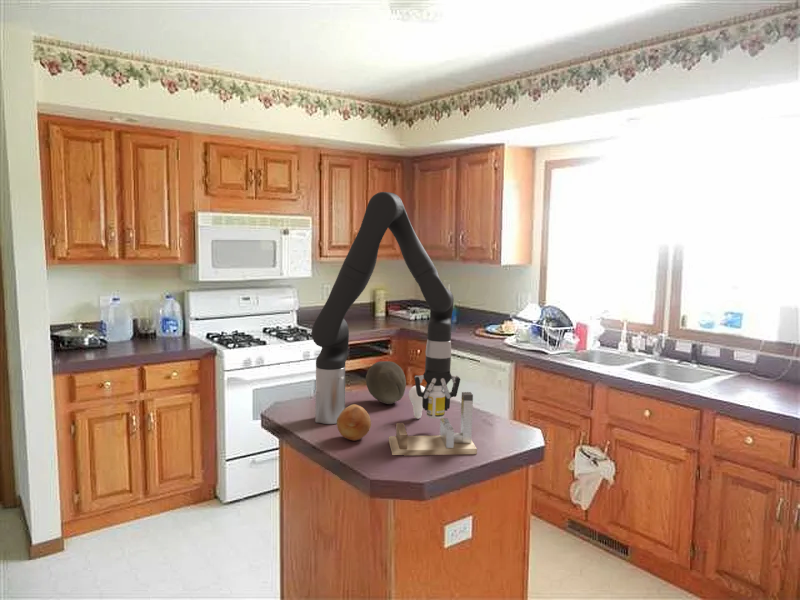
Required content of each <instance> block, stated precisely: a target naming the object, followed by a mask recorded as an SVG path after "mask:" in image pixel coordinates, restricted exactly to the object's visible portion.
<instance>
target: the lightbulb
mask: <svg viewBox="0 0 800 600" xmlns="http://www.w3.org/2000/svg"><path fill="white" fill-rule="evenodd" d="M420 386H421V392H424V390H425V386H423V385H421V384H420ZM408 398H409V401H410V403H411V405H412V410H413V417H414V418H415V419H416V420H418V419H420V418H422V414H423V410H424V409H423V406H422V399H423V398H422V397H419V396H418V395H417V392H416V385H413V386H412V387H410V389H409V391H408Z"/></svg>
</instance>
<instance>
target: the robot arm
mask: <svg viewBox="0 0 800 600" xmlns="http://www.w3.org/2000/svg"><path fill="white" fill-rule="evenodd" d="M411 223H412V222H411V221H410V218H409V215H408V213H407V210H406V208H405V205H404V203H403V201H402V198H401V197H400V196H399V195H397V194H396V193H394V192H389V191H388V192H387V191H379V192H376V193H375V194H374V195H373V196H371V198H370V199H369V201H368V202H367V206H366V209H365V212H364V215H363V219H362V221H361V225H360V227H359V229H358V232H357V234H356V236H355V238H354V239H353V242H352V244H351V246H350V248H349V250H348V253H347V254H346V257H345V258H344V260H343V263H342V265H341V267H340V270H339V272H338V274H337V277H336V278H335V282H334V284H333V286H332V288H331V290H330V293H329V296H328V297H327V300H326V302H325V304H324V305H323V306H322V309H321V311H320V312H319V314H318V315H317V317H316V319H315V320H314V323H313V325H312V327H311V337H312V341H313V342H314V343H315V345H316V346H318V347H321V350H320V352H319V354H318V355H317V357H316V358H315V396H314V397H315V399H314V400H315V401H314V402H315V410H314V411H315V412H314V413H315V414H314V415H315V417H314V418H315V421H314V422H315V423H318V424H325V425H333V424H337V418H338V417H339V415H340V413H341V412H342V411H343V410H344V409H345V408H346V361H347V359H348V356H349V355H348V354H349V339H350V338H349V337H350V335H349V333H350V332H349V325H348V323H347V321H346V319H345V316H346V314H347V313H348V311H349V309H351V306H352V305H353V304H354V303H355V302H356V300H357V299H359V297H360V295H362V293H363V291H365V290H366V287H367V285H368V283H369V281H370V279H371V277H372V276H373V273H374V270H375V267H376V263H377V260H378V253H379V248H380V246H381V245H380V244H381V242H382V240H383V237H384V236H385V233H386V232H387V230H389V231H390V232H391V233H392V235H393V236H394V238H395V240H396V243H397V244H398V247H399V249H400V251H401V252H400V253H401V255H402V257H403V260H404V262H405V264H406V266H407V268H408V270H409V272H410V274H411V275H412V277H413V278H414V280H415V282H416V283H417V285H418V287H419V289H420V292H421V293H422V295H423V298H424V300H425V302H426V304H427V306H428V307H429V309H430V313H429V321H428V324H427V338H426V340H427V341H426V344H425V345H426V347H425V362H424V363H425V364H424V365H425V366H424V372H423V374H421V375H414V384H415V385H414V386H416V392H417V395H418V396H419V397H422V398H423V399H422V406H423V410H424V411H426V412H427V410H428V398H427V397H428V395H429V393H430V392H431V390H432V388H433V386H443V390H442V391H443V392H444V393H445V412H446V411H448V410H449V409H450V405H451V399H452V398H453V397H454V398H455V397H457V396H458V391H459V388H460V387H459V386H460V383H461V378H460V376H459V375H452V374H451V365H452V364H451V361H452V320H453V319H452V318H453V312H454V311H453V310H454V301H455V300H454V298H455V297H454V294H453V293H452V291H451V290H450V289H449V288H447V287H446V286H445V284H444V283H443V281H442V279H441V278H440V276H439V271H438V269H437V267H436V266H435V265H434V262H433V261H432V259H431V257H430V256H429V254H428V253H427V250H426V249H425V247H424V246H423V244H422V243H421V241H420V239H419V237H418V236H417V234H416V231H415V230H414V228H413V226H412V224H411ZM423 380H424V382H426V385H425V386H424V388H425V390H424V392H421V386H422V385H421V384H423ZM450 381H451V382H452V386H451V387H452V388H451V391H449V388H448V384H449V382H450ZM420 385H421V386H420Z"/></svg>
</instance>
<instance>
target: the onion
mask: <svg viewBox="0 0 800 600" xmlns="http://www.w3.org/2000/svg"><path fill="white" fill-rule="evenodd" d="M336 427H337V429H338V432H339V433H340V435H341V436H342V437H343V438H344V439H347V440H350V441H353V442H356V441H359V440H361V439H362V438H364V437H365V436H367V435H368V433H369V432H370V429H371V427H372V420H371V417H370V414H369V413H368V411H367V410H366V409H365V408H364V407H363V406H361V405H359V404H355V403H353V404H350V405H349V406H347V407H346V406H345V409H344V410H343V411H342V412H341V413H340V415H339V417H338V418H337V423H336Z"/></svg>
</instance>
